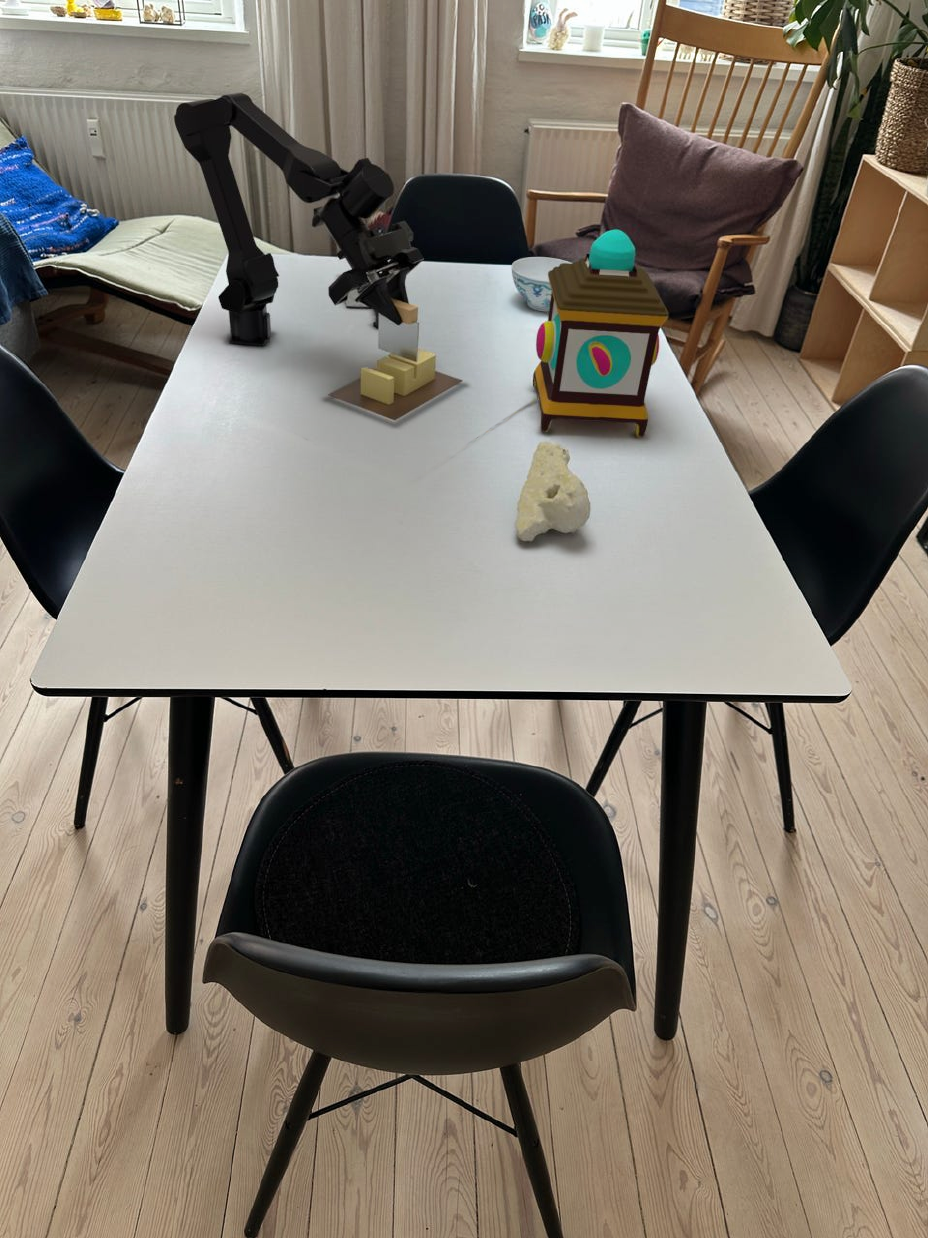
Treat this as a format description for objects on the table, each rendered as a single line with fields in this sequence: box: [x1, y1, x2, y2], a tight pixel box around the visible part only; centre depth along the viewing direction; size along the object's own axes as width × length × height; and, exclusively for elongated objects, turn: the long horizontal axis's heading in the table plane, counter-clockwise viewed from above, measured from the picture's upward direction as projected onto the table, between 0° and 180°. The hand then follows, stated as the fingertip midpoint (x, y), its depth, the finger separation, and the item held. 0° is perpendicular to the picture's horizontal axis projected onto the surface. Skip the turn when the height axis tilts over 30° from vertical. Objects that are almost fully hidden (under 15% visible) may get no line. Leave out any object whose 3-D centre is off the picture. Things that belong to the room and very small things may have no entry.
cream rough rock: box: [515, 441, 592, 542], centre depth 128 cm, size 15×7×15 cm
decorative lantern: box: [532, 229, 670, 438], centre depth 148 cm, size 20×20×30 cm
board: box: [327, 369, 464, 421], centre depth 158 cm, size 14×20×1 cm
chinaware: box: [511, 256, 573, 313], centre depth 193 cm, size 15×15×8 cm
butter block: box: [375, 348, 437, 396], centre depth 158 cm, size 6×9×4 cm, turn 146°
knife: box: [377, 298, 420, 362], centre depth 151 cm, size 8×2×9 cm, turn 56°
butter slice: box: [360, 366, 394, 405], centre depth 152 cm, size 6×1×4 cm, turn 56°
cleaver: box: [344, 289, 379, 329], centre depth 190 cm, size 29×1×10 cm
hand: (405, 321), depth 150 cm, fingers closed on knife, 2 cm apart
